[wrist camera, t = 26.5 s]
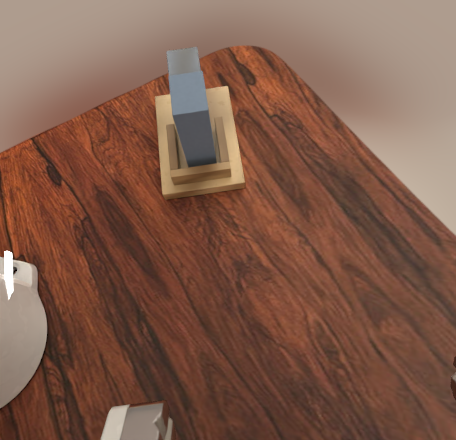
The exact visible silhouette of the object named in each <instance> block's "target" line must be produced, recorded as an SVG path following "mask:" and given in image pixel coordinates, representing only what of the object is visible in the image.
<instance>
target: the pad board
mask: <svg viewBox="0 0 456 440" xmlns="http://www.w3.org/2000/svg"><path fill="white" fill-rule="evenodd" d="M167 62H168V72H169V76H172V75H179V74H185V73H192V72H198V71H201V68H200V61H199V55H198V49H197V47H192V48H185V49H179V50H173V51H167ZM205 90H206V96H207V102H208V109H209V115H210V122H211V128H212V135H213V141H214V148H215V154H216V161H217V163H215V164H209V165H202V166H195V167H188V164H187V161H186V158H185V154H184V151H183V148H182V145H181V141H180V138H179V135H178V132H177V129H176V125H175V122H174V119H173V116H172V106H171V96H170V95H163V96H156V97H155V104H156V117H157V130H158V143H159V157H160V170H161V183H162V195H163V197H164V199H165V200H168V199H175V198H181V197H188V196H195V195H202V194H208V193H215V192H222V191H228V190H235V189H242V188H245V179H244V173H243V168H242V162H241V157H240V151H239V145H238V140H237V134H236V129H235V123H234V118H233V112H232V106H231V101H230V95H229V90H228V86H224V87H217V88H210V89H205Z"/></svg>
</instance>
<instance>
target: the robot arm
mask: <svg viewBox="0 0 456 440" xmlns="http://www.w3.org/2000/svg"><path fill="white" fill-rule="evenodd" d="M4 255H5V258H3V257H0V408H2V407H3V406H5V405H6V404H7V403H9V402H10V401H11V400H12V399H13V398H15V397H16V396H17V395H18V394H19V393H20V392H21V391H22V389H23V388H24V387H25V386H26V385H27V383H28V382H29V381H30V379H31V378H32V376H33V375H34V373H35V371H36V369H37V367H38V365H39V363H40V361H41V358H42V356H43V352H44V349H45V345H46V339H47V319H46V314H45V310H44V307H43V305H42V302H41V300H40V298H39V295H38V291H37V286H38V272H37V268H36V267H35V266H34V265H33V264H30V263H26V262H22V261H17V260H13V259H12V253H11V252H9V251H5V252H4ZM15 269H17V272H16V273H15V274H14V270H15ZM453 365H454V366H455V367H456V356H455V358H454V363H453ZM451 389H452V392H453V396H454V398H455V400H456V372H455V373H454V374H453V376H452V377H451ZM101 440H176V432H175V426H174V422H173V420H172V419H171V418H169V406H168V403H167V400H161V401H154V402H146V403H138V404H130V405H124V406H116V407H112V408H111V410H110V411H109V413H108V416H107V419H106V423H105V426H104V430H103V433H102V436H101Z"/></svg>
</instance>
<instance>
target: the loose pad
mask: <svg viewBox="0 0 456 440" xmlns="http://www.w3.org/2000/svg"><path fill="white" fill-rule="evenodd" d="M169 86H170V96H171V106H172V116H173V119H174V122H175V125H176V129H177V132H178V135H179V138H180V141H181V145H182V148H183V151H184V154H185V158H186V161H187V164H188V167H195V166H202V165H209V164H215V163H217V161H216V154H215V148H214V141H213V135H212V128H211V122H210V115H209V109H208V102H207V96H206V90H205V83H204V77H203V71H198V72H192V73H185V74H179V75H172V76H169Z"/></svg>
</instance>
